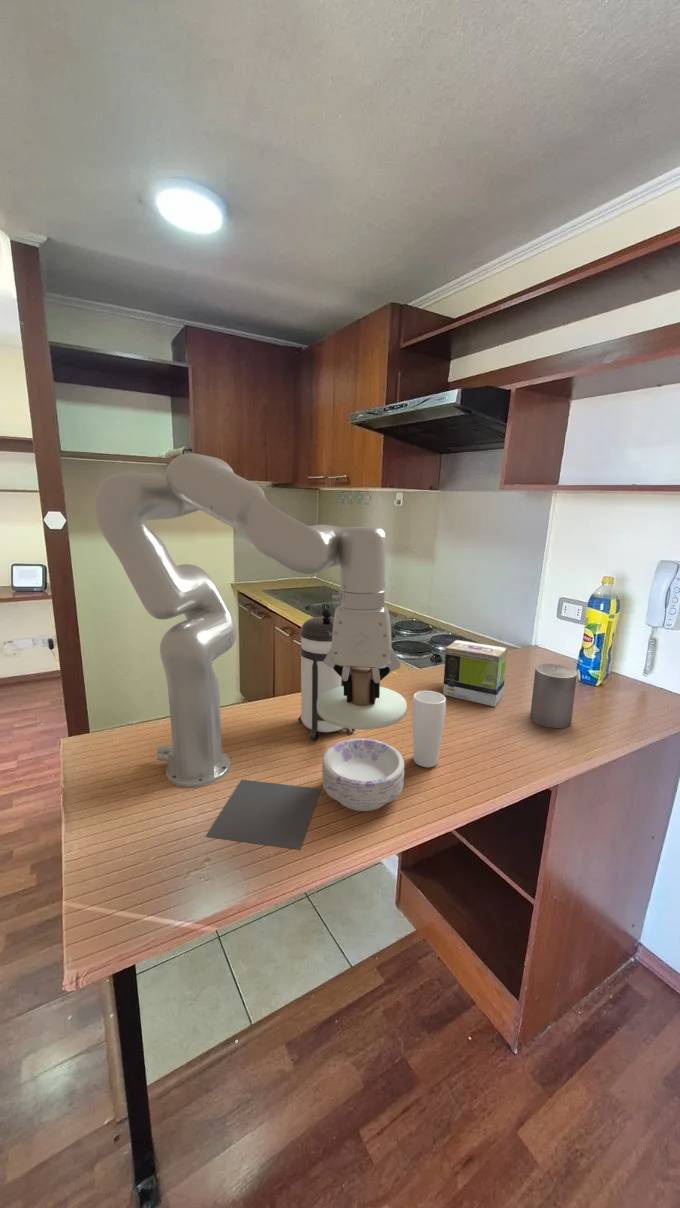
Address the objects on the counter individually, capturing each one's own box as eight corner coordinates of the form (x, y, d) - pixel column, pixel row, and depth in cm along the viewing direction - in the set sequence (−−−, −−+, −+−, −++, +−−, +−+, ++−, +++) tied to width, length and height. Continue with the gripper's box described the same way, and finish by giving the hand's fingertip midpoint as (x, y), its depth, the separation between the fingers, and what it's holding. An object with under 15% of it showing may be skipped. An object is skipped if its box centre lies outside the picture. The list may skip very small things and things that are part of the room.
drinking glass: (419, 750, 103) (423, 687, 100) (447, 760, 99) (452, 696, 96) (403, 762, 98) (407, 697, 95) (432, 774, 94) (436, 706, 90)
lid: (307, 725, 76) (306, 684, 74) (326, 687, 91) (326, 653, 90) (404, 733, 73) (405, 691, 72) (408, 693, 89) (409, 657, 87)
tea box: (503, 695, 133) (508, 647, 130) (494, 708, 125) (499, 656, 122) (453, 684, 141) (456, 638, 138) (441, 695, 133) (445, 646, 129)
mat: (205, 838, 75) (205, 836, 75) (241, 781, 91) (241, 779, 91) (300, 851, 73) (300, 849, 73) (321, 790, 88) (321, 788, 88)
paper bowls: (339, 832, 77) (340, 790, 75) (311, 781, 91) (311, 745, 89) (418, 811, 83) (420, 772, 81) (380, 766, 96) (381, 732, 95)
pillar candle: (544, 708, 125) (550, 656, 122) (579, 722, 117) (586, 667, 114) (522, 717, 120) (527, 663, 117) (556, 732, 112) (563, 675, 109)
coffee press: (280, 735, 109) (278, 612, 102) (315, 709, 123) (315, 599, 116) (345, 754, 101) (348, 622, 94) (374, 724, 115) (378, 607, 108)
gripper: (309, 603, 76) (311, 705, 80) (411, 606, 73) (407, 713, 77) (319, 594, 83) (321, 689, 87) (412, 597, 80) (409, 695, 84)
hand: (361, 699), depth 82 cm, fingers closed on lid, 3 cm apart
